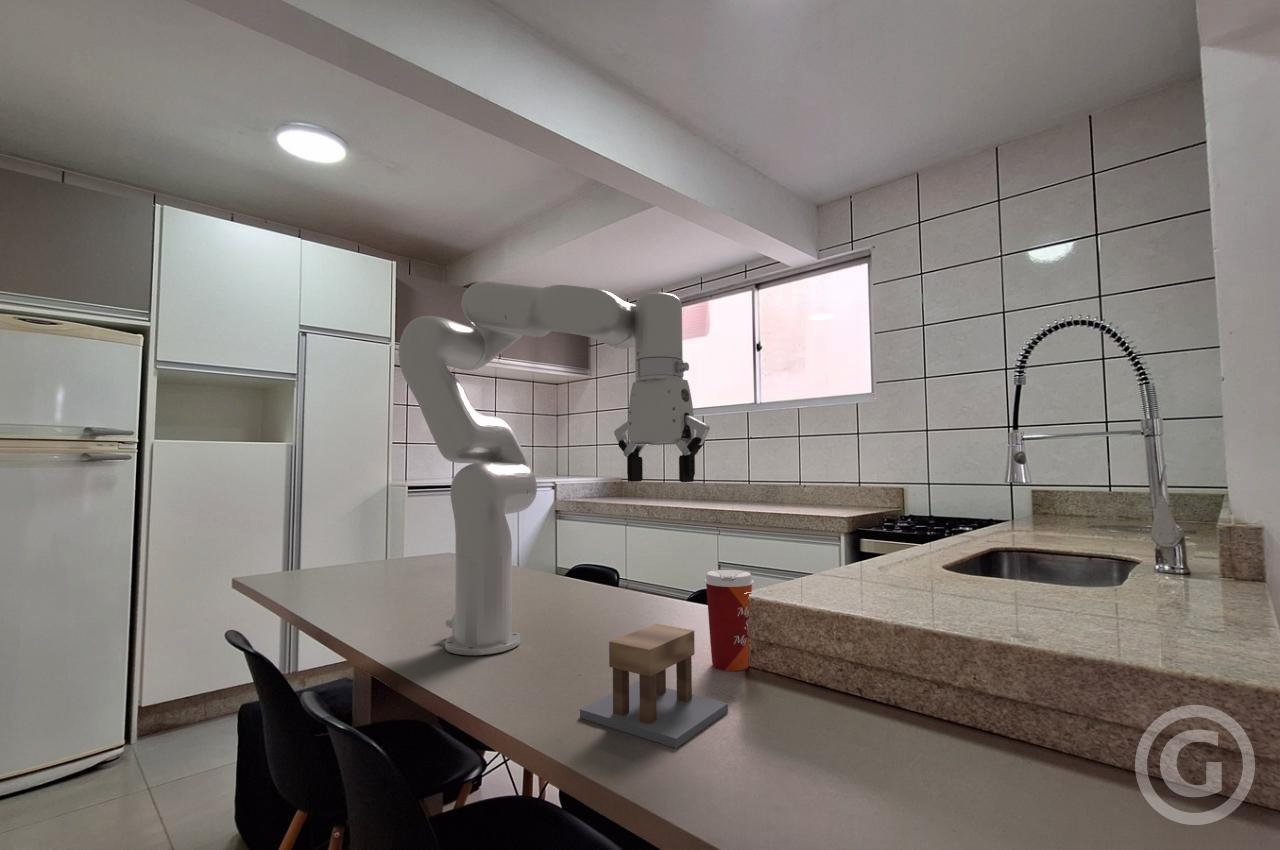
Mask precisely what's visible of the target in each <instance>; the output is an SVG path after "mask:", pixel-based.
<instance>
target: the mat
mask: <svg viewBox="0 0 1280 850" xmlns="http://www.w3.org/2000/svg"><path fill="white" fill-rule="evenodd" d="M727 713H729V703H728V702H724V701H720V700H716V699H711V698H709V697H708V698H707V697H704V696H700V695H696V694H693V693H692V699H691V700H689V701H687V702H683V701H680V700H677V689H672V688H668V687H666V692H665V693H663V694H662V695H657V694H656V714H657V720H656V721H655V722H653V723H651V724H646V723H643V722H640V680H636V681H634V682H632V683H629V713H627V714H625V715H624V716H620V715H616V714H613V692H612V693H610V694H608V695H606V696H604V697H602V698H600V699H598V700H596V701H593V702H592V703H589V704H588V705H586V706H584V707H581V708H579V718H580V719H582V720H585V721H590V722H593V723H596V724H599V725H602V726H606V727H609V728H611V729H614V730H617V731H621V732H623V733H627V734H630V735H634V736H637V737H639V738H643V739H646V740H649V741H653V742H655V743H660V744H661V745H662V744H663V745H666V746H668V747H671V748H674V749H677V748H679V747H680V746H681V745H683V744H685V743H686V742H688V741H689V740H690V739H691V738H693V737H694V736H696V735H697V734H698V733H700V732H701V731H704V729H705V728H707V727H708V726H710V725H712V724H713V723H714V722H715V721H717V720H718V719H720V718H721V717H722V716H724V715H726V714H727Z"/></svg>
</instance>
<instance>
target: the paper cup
mask: <svg viewBox="0 0 1280 850" xmlns="http://www.w3.org/2000/svg"><path fill="white" fill-rule="evenodd" d="M703 583H705V587H706V597H707V598H706V599H707V601H706V602H707V614H708V625H709V627H708V628H709V639H710V641H709V643H710V652H711V653H710V655H711V664H712V667H713V668H714V669H717V670H720V671H723V672H740V671H745V670H747V669H749V666H748V656H749V657H750V653H749V638H748V635H747V632H748V620H749V619H748V618H749V611H750V605H749V602H748V597H749V594H753V593H747V594H744V593H746V592H753V591H752V590H753V585H754V584H755V581H754V580H753V577H752V575H751V573H750V572H748V571H744V570H738V569H737V570H736V569H719V570H718V569H717V570H711V571H708V572H707V573H706V577H705V578H704V582H703Z"/></svg>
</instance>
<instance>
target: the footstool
mask: <svg viewBox="0 0 1280 850" xmlns="http://www.w3.org/2000/svg"><path fill="white" fill-rule="evenodd" d="M608 643H609V644H608V646H609V647H608V657H609V658H608V659H609V660H608V661H609V663H608V666H609V668H611V669H612V693H613V714H616V715H620V716H624V715H625V714H627V713H629V685H630V673H633V674H637V675H638V676H639V681H640V722H643V723H646V724H651V723H653V722H655V721H656V720H657V714H656V694H657V695H662V694H663V693H665V692H666V688H667V686H666V685H667V684H666V683H667V676H666V673H667V669H668V668H670V667H673V666H674V665H676V690H677V700H680V701H683V702H687V701H689V700H691V699H692V694H693V681H692V680H693V679H692V678H693V677H692V676H693V675H692V656H694V655H695V647H696V646H695V630H693V629H687V628H681V627H675V626H671V625H666V624H659V623H655V624H652V625H649V626H646V627H643V628H642V629H639V630H635V631H633V632H631V633H628V634H625V635H623V636H620V637H618V638H614V639H612V640H610V641H609V642H608Z"/></svg>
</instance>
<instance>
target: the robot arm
mask: <svg viewBox="0 0 1280 850" xmlns="http://www.w3.org/2000/svg"><path fill="white" fill-rule="evenodd" d="M461 309H462V312H463V314H464V316H465V318H466V319H467V320H468V321H469V322H470V323H471V324H472V326H469V325H466V324H463V323H460V322H457V321H454V320H451V319H448V318H445V317H441V316H434V315H424V316H423V315H422V316H419V317H417V318H414V319H412V320H411V321H410V322H409V323H408V324H407V325H406V326H405V327H404V329H403V332H402V334H401V336H400V340H399V345H398V362H399V366H400V369H401V373H402V376H403V378H404V379H405V382H406V384H407V385H408V388H409V389H410V391H411V393H412V395H413V396H414V398H415V400H416V401H417V404H418V406H419V408H420V411H421V413H422V416H423V419H424V420H425V424H426V425H427V426H428V429H429V431H430V433H431V435H432V438H433V440H434V443H435V444H436V447H437V450H438V451H439V453H440V454H441V455H442V456H443V458H445V459H446V460H447V461H449V462H450V463H451V462H452V463H457V464H468V465H465V466H464V467H462V468H461V469H460V470H459V471H458V472H457V473H456V474H455V475H454V477H453V478H452V479H453V480H452V481H451V484H450V493H449V494H450V501H451V507H452V513H453V519H454V531H455V573H454V574H455V575H454V576H455V579H454V580H455V581H454V582H455V583H454V584H455V585H454V615H453V616H452V617H451V619H450V618H449V619H447V620H446V621H445V623H444V624H445V627H446V628H449V629H451V636H449V637H447V639H446V640H445V641H444V648H445V649H444V650H446V651H447V652H448V653H451V654H455V655H459V656H460V655H461V656H484V655H485V656H486V655H493V654H499V653H504V652H506V651H507V652H508V651H509V650H512V649H515V648H516V647H518V645H520V643H521V635H520V633H518V632H516V631H513V630H512V583H513V582H512V578H513V577H512V574H513V573H512V570H513V569H512V567H513V565H512V564H513V563H512V561H513V560H512V559H513V557H512V553H513V552H512V551H513V548H512V547H513V546H512V534H511V529H510V526H509V523H508V520H507V516H506V515H507V514H515V513H516V514H517V513H519V512H522V511H525V510H526V509H528V508H529V507H530V506H531V505H532V504H533V503H534V501H535V499H536V496H537V490H538V487H537V486H538V484H537V480H536V479H537V478H536V476H535V474H534V470H533V468H532V466H531V465H530V463H529V460H528V458H527V456H526V455H525V453H524V451H523V449H522V446H521V444H520V442H519V440H518V438H517V436H516V434H515V432H514V430H513V429H512V428H511V426H510V425H509V424H508V423H507V422H506V421H505V420H503V419H502V418H501V417H499V416H496V415H494V414H488V413H482V412H479V411H478V410H476V409H475V408H474V407H473V404H472V402H471V401H470V399H469V398H468V395H467V393H466V390H465V389H464V387H463V385H462V384H461V382H460V381H459V379H458V378H457V377H456V376H455V375H454V373H452V372H451V370H450V369H449V368H455V369H458V370H463V371H475V370H478V369H481V368H483V367H485V366H486V365H487V364H489V363H491V362H492V361H493V360H494V359H495V358H497V357H498V356H499V355H500V354H502V353H503V352H505V351H506V350H507V349H509V348H510V347H511V346H513V344H515V343H516V342H517V341H519V340H520V339H521V338H522V337H523V336H526V337H527V336H528V337H533V338H543V337H545V336H547V335H549V334H550V333H551V332H557V333H563V334H564V333H565V334H572V335H579V336H583V337H588V338H591V339H594V340H596V341H598V342H600V343H603V344H605V345H606V346H609V347H612V348H614V349H618V350H619V349H621V350H623V349H629V348H635V349H634V350H635V351H634V353H635V357H634V358H635V359H634V360H635V362H634V365H635V367H634V368H635V370H634V371H635V372H634V373H635V374H634V375H635V378H634V379H635V382H632V386H631V388H630V389H631V391H630V395H629V403H628V417H627V419H628V420H627V421H626V422H624V423H623V424H622V425H620V426H619V427H617V428H616V429H615V430H614V431H613V433H614V436H615V439H616V441H617V442H618V447H619V448H620V449H621V451H622V452H623V456H624V457H626V465H627V466H626V469H627V470H626V474H627V482H629V483H630V482H631V483H633V482H634V483H636V482H642V481H643V479H644V478H643V475H644V474H643V468H644V467H643V464H644V463H643V457H642V456H640V455H641V453H642V451H643V450H644V449H645V447H646V446H647V445H649V446H650V445H652V446H657V445H659V446H661V445H662V446H663V445H664V446H665V445H675V446H676V447H677V448H678V449H679V451H680V452H681V454H682V455H679V457H678V478H679V480H678V481H680V483H693V482H694V480H695V475H696V463H695V462H696V461H695V460H696V456H698V454H699V451H700V450H701V449H702V447H703V446H704V445H705V443H706V442H705V441H706V438H707V436H708V434H709V433H710V428H711V427H710V425H708V424H706V423H704V422H703V421H701V420H699V419H697V418H695V417H694V415H695V413H694V407H693V406H694V405H693V400H692V399H693V398H692V393H691V389H690V385H689V380H687V379H684V372H688V371H689V370H690V366H689V365H690V364H689V363H688V362H687V361H685V362H684V360H683V358H684V357H683V305H682V301H681V299H680V298H679V297H678V296H676V295H675V294H672V293H668V292H651V293H646V294H643V295H641V296H640V297H638V298H637V299H636V302H635V304H633V303H630V302H627V301H624V300H623V299H621V298H619V297H618V296H617V295H615V294H613V293H611V292H610V291H606V290H603V289H599V288H594V287H587V286H577V285H571V284H568V285H567V284H554V285H548V286H545V287H539V286H529V285H520V284H519V285H518V284H511V283H504V282H502V283H501V282H494V281H480V282H476V283H474V284H471V285H470V286H469V287H468V288H466V289H465V291H464V293H463V295H462V297H461ZM627 435H628V436H627ZM628 439H629V440H628ZM445 459H444V460H445Z"/></svg>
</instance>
